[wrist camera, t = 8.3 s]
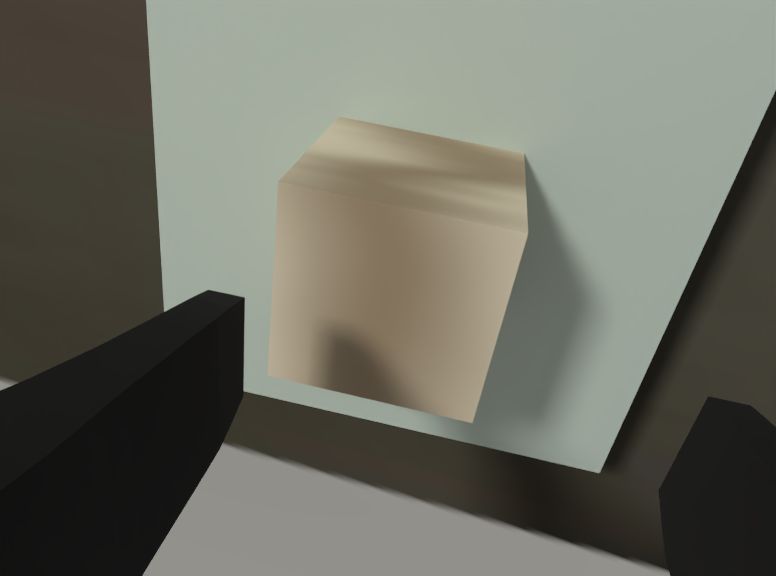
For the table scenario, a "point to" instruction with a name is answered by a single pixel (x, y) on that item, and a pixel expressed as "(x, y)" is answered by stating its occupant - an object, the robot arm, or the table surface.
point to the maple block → (395, 265)
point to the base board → (485, 127)
